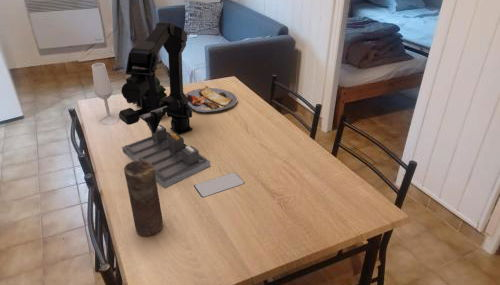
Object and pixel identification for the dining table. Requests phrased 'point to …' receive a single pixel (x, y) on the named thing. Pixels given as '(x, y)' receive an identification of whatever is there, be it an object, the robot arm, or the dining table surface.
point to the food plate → (210, 99)
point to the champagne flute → (103, 88)
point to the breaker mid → (176, 143)
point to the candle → (144, 197)
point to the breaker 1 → (160, 134)
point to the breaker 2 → (190, 155)
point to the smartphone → (218, 184)
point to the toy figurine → (161, 92)
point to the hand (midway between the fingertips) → (153, 132)
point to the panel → (164, 160)
